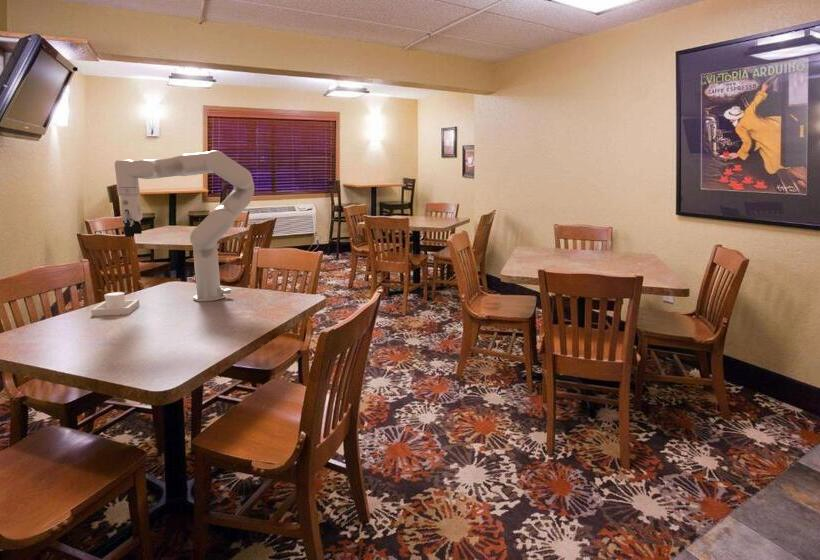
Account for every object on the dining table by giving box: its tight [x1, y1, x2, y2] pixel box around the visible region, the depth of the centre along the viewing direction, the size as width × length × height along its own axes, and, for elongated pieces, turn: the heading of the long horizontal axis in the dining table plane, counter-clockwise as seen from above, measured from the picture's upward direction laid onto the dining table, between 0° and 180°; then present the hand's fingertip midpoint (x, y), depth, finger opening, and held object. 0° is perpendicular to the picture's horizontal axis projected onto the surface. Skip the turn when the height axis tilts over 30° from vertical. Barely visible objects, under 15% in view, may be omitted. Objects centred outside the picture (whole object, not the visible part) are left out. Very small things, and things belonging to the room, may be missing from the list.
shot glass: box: [103, 291, 126, 308], centre depth 192 cm, size 7×7×7 cm
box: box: [90, 299, 140, 317], centre depth 193 cm, size 13×13×2 cm
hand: (133, 235), depth 198 cm, fingers open, 9 cm apart
